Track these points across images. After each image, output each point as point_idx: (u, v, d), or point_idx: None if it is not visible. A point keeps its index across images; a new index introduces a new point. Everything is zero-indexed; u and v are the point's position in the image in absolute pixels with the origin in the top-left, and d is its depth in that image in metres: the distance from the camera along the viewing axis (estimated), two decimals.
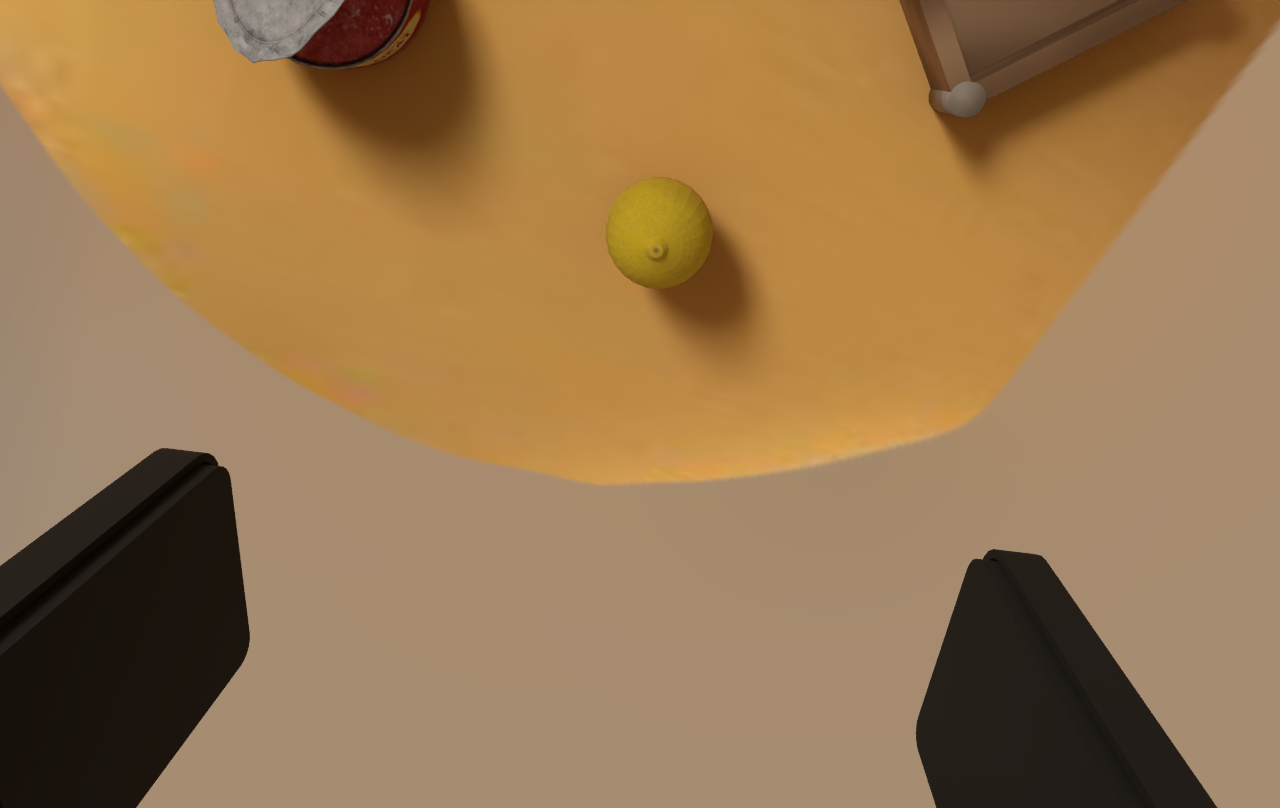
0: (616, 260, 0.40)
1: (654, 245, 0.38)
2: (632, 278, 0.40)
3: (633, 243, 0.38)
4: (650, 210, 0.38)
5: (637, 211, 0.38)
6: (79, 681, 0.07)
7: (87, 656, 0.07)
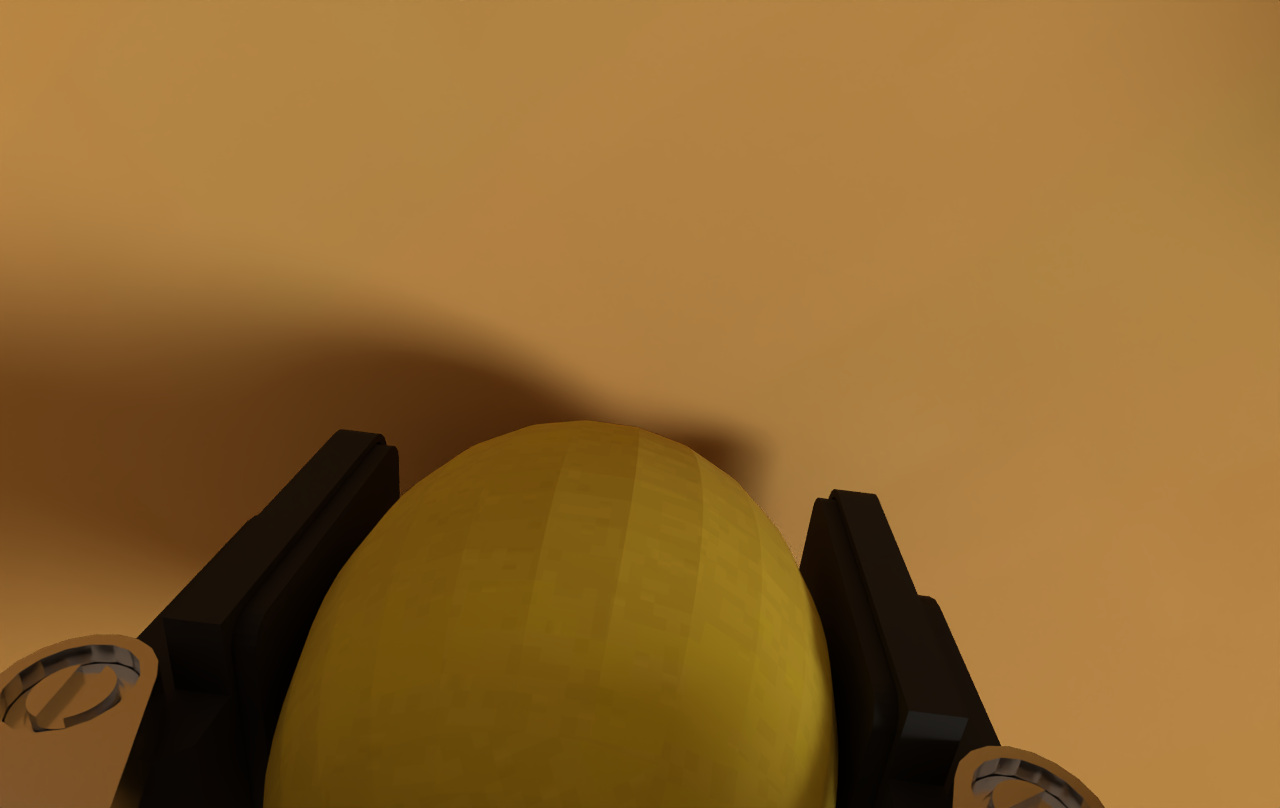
0: (568, 694, 0.06)
1: None
2: (403, 718, 0.06)
3: None
4: None
5: None
6: None
7: (315, 610, 0.08)
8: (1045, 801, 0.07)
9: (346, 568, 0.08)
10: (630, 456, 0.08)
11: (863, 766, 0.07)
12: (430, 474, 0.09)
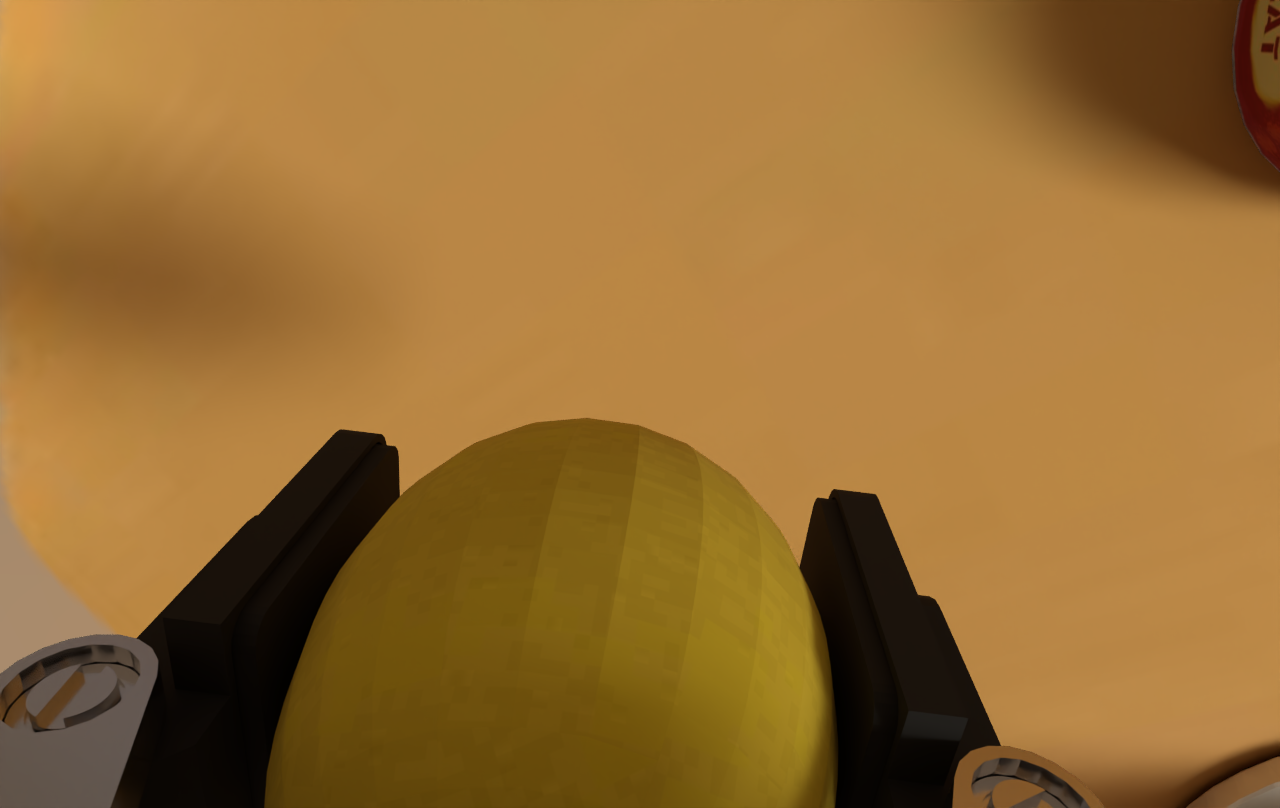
0: (569, 689, 0.06)
1: None
2: (404, 714, 0.06)
3: None
4: None
5: None
6: None
7: (315, 610, 0.08)
8: (1045, 801, 0.07)
9: (347, 565, 0.08)
10: (630, 454, 0.08)
11: (863, 766, 0.07)
12: (431, 472, 0.09)
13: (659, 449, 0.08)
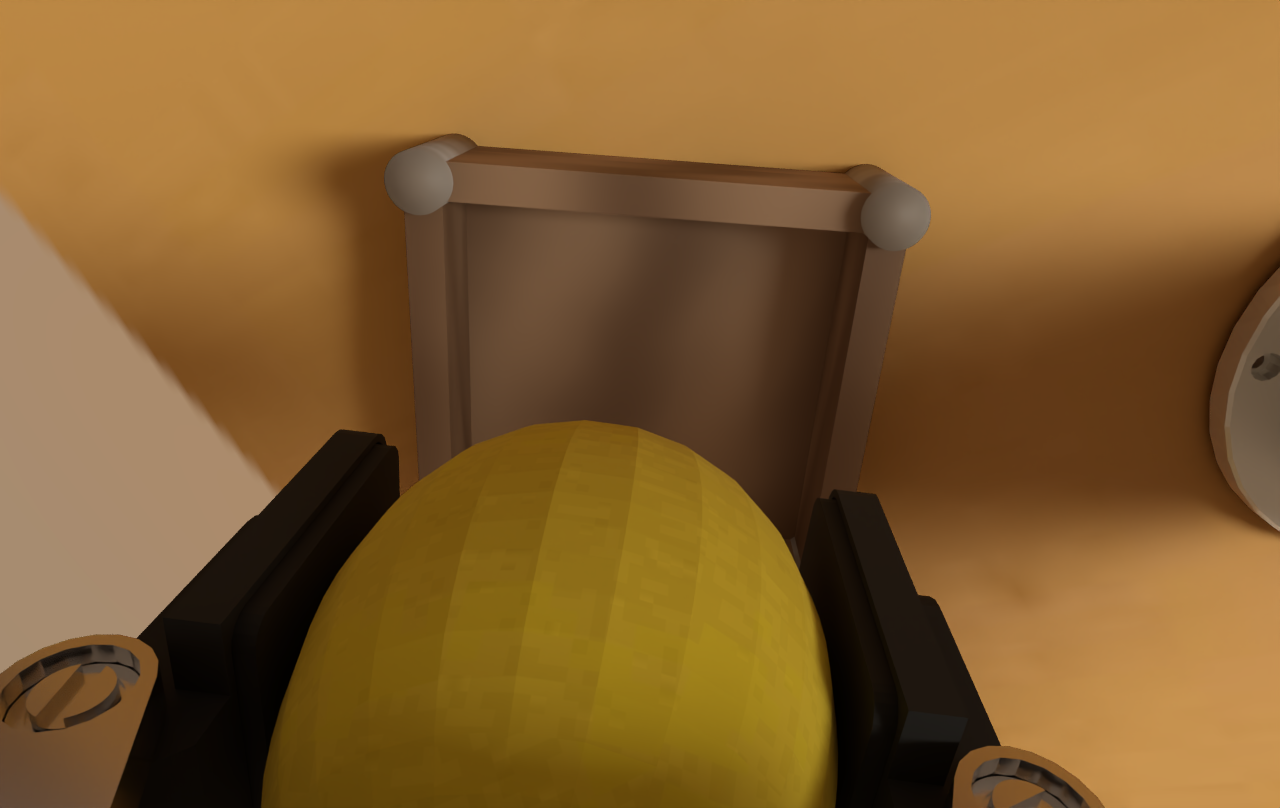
0: (567, 695, 0.06)
1: None
2: (401, 719, 0.06)
3: None
4: None
5: None
6: None
7: (315, 610, 0.08)
8: (1045, 801, 0.07)
9: (344, 568, 0.08)
10: (629, 456, 0.08)
11: (863, 766, 0.07)
12: (429, 474, 0.09)
13: (658, 451, 0.08)
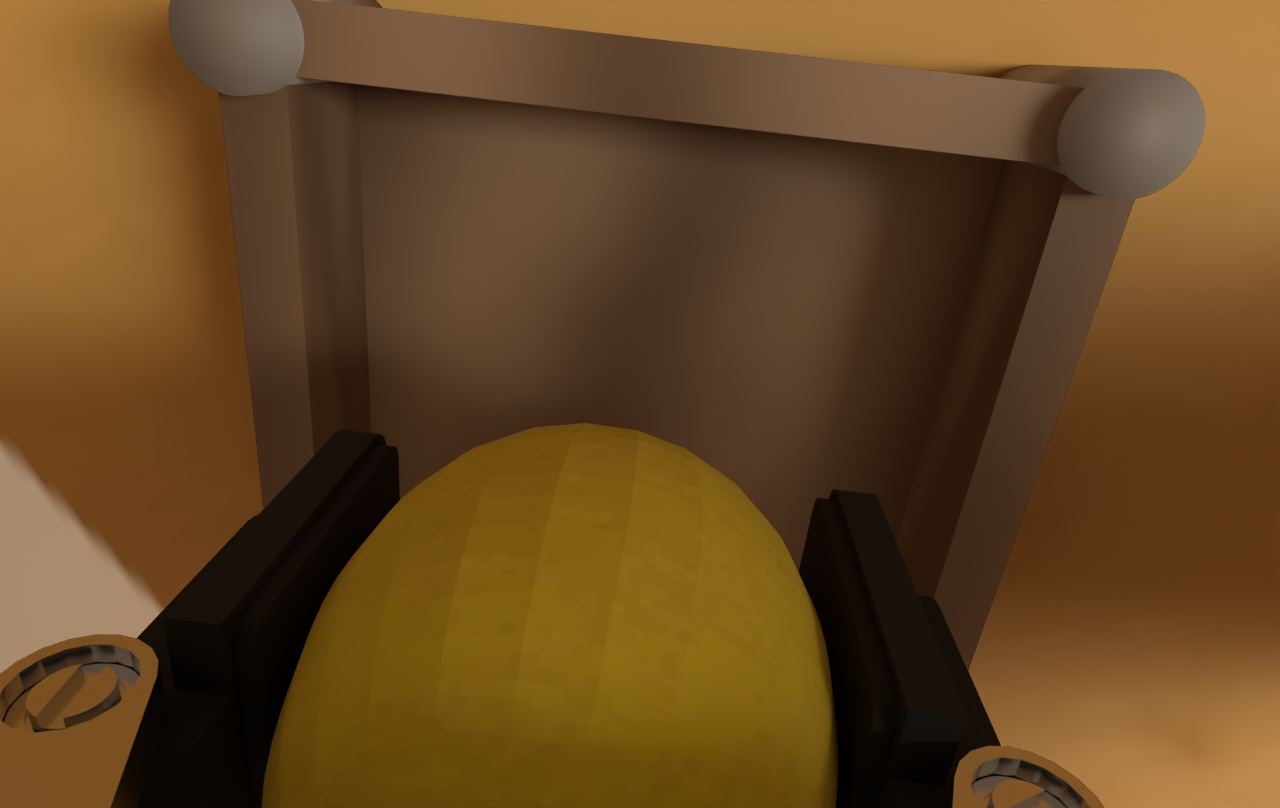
0: (567, 699, 0.06)
1: None
2: (401, 724, 0.06)
3: None
4: None
5: None
6: None
7: (315, 611, 0.08)
8: (1045, 801, 0.07)
9: (345, 572, 0.08)
10: (628, 460, 0.08)
11: (863, 766, 0.07)
12: (429, 477, 0.09)
13: (658, 455, 0.08)
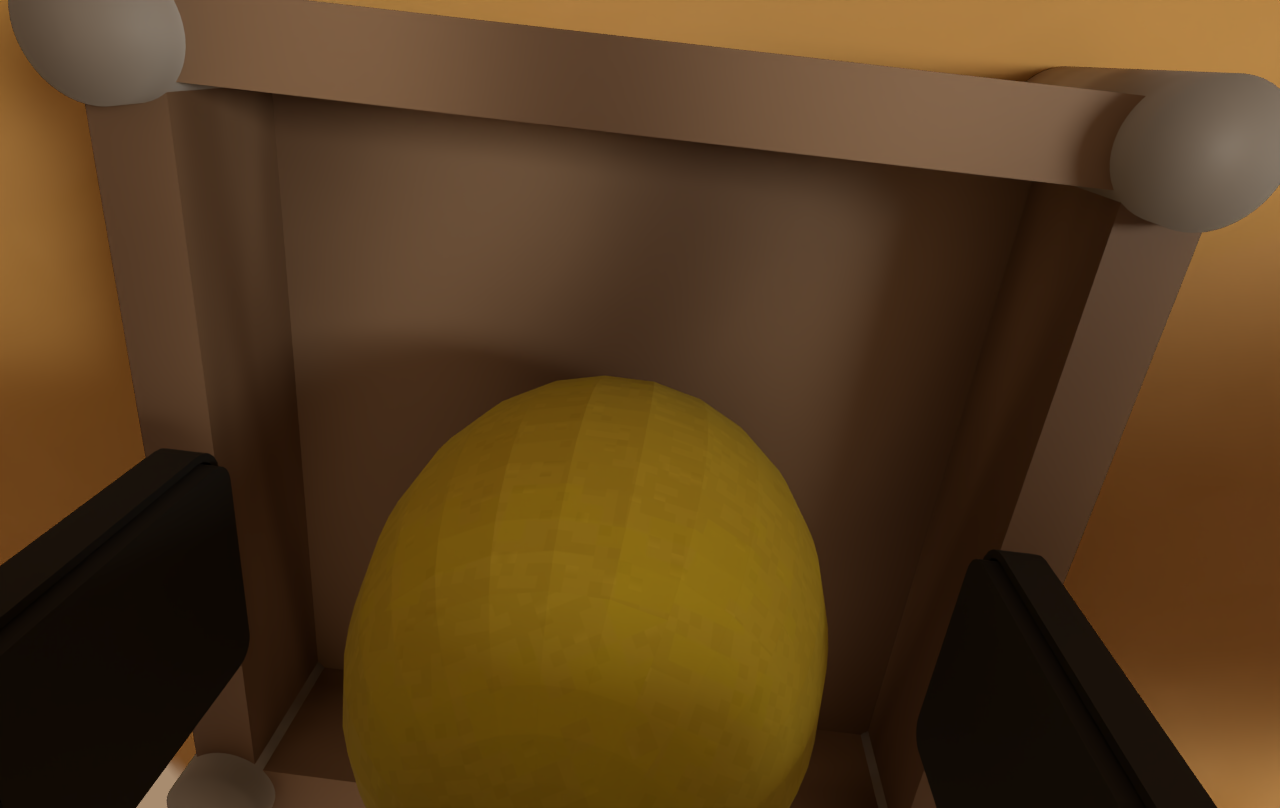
0: (595, 564, 0.07)
1: None
2: (461, 586, 0.07)
3: (636, 791, 0.06)
4: None
5: None
6: (79, 681, 0.07)
7: (87, 656, 0.07)
8: None
9: (405, 494, 0.09)
10: (646, 397, 0.09)
11: None
12: None
13: (671, 396, 0.10)
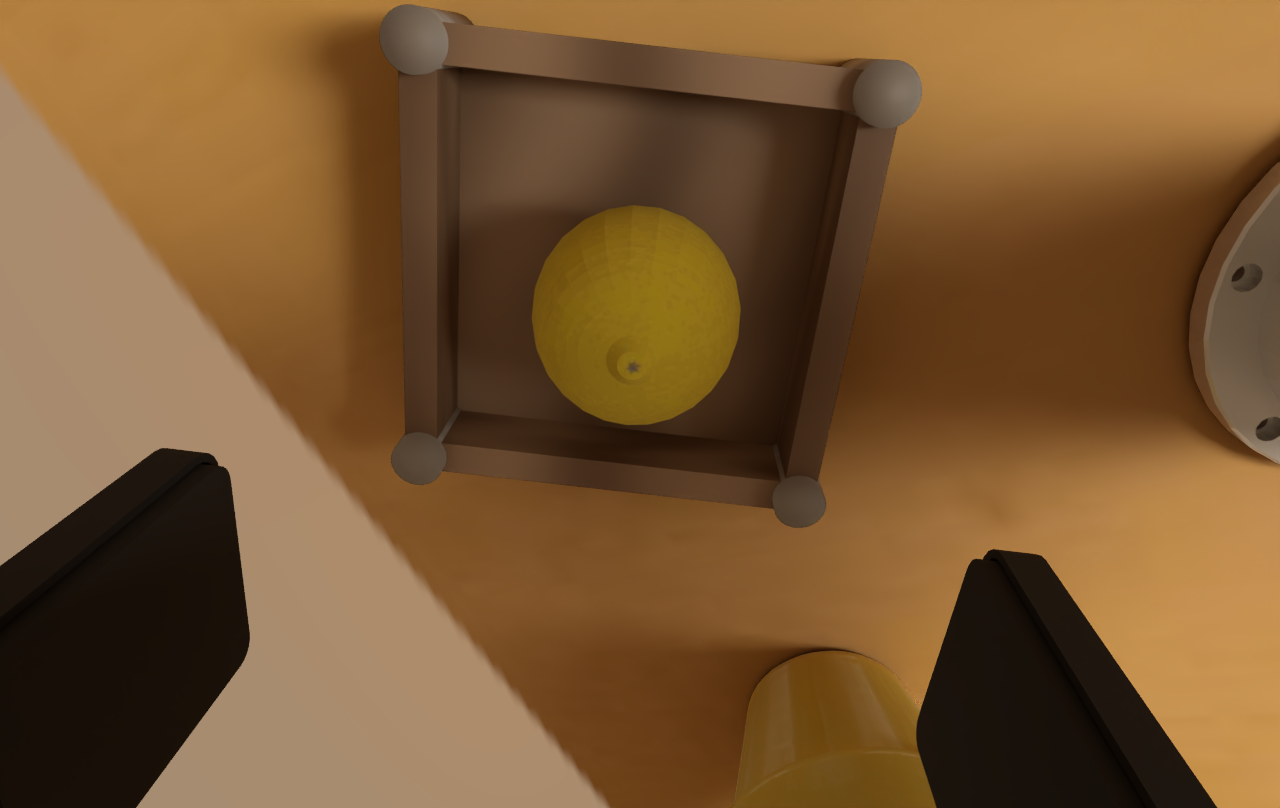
0: (646, 250, 0.18)
1: (644, 369, 0.18)
2: (596, 261, 0.18)
3: (666, 323, 0.18)
4: (701, 375, 0.19)
5: (712, 350, 0.19)
6: (79, 681, 0.07)
7: (87, 656, 0.07)
8: None
9: (551, 253, 0.21)
10: (656, 208, 0.21)
11: None
12: None
13: (667, 211, 0.21)
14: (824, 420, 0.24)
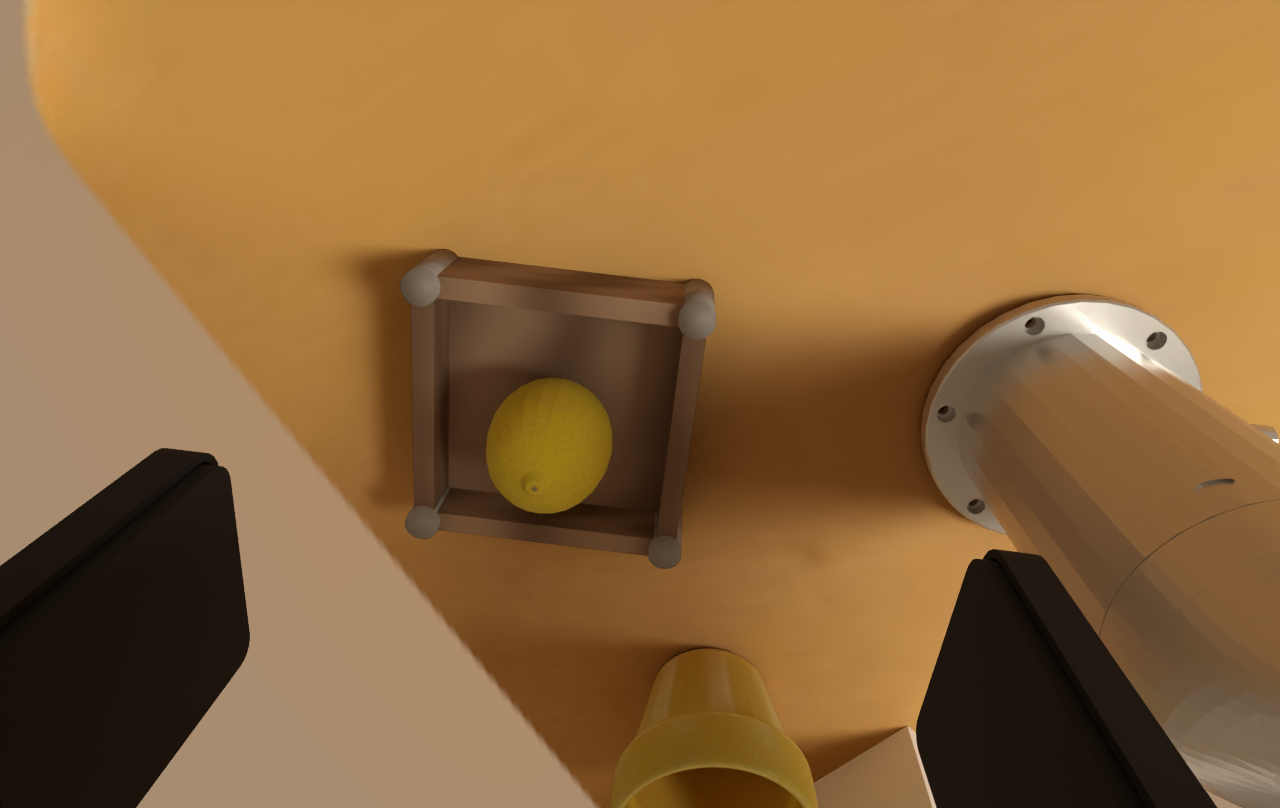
0: (545, 420, 0.33)
1: (540, 490, 0.32)
2: (516, 426, 0.33)
3: (554, 463, 0.32)
4: (578, 489, 0.33)
5: (584, 475, 0.33)
6: (79, 681, 0.07)
7: (87, 656, 0.07)
8: None
9: (497, 411, 0.35)
10: (560, 383, 0.35)
11: None
12: (514, 391, 0.36)
13: (568, 383, 0.35)
14: (677, 502, 0.38)
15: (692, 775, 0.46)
